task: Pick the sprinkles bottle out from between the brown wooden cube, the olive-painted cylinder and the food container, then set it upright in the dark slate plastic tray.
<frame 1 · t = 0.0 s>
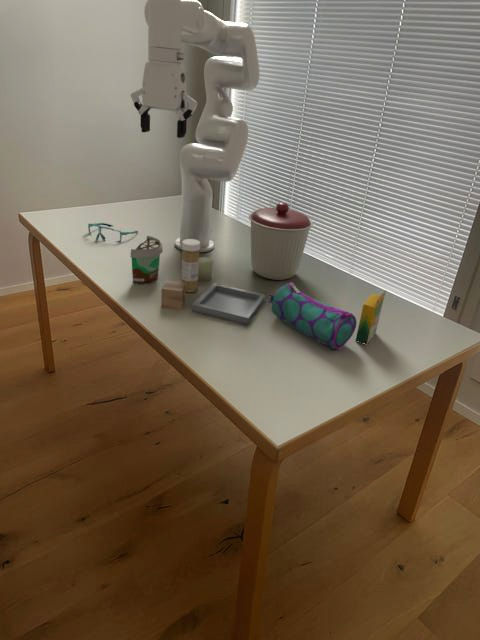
hand: (163, 134, 124), 37 cm above the table, tool pointing down, fingers open, 9 cm apart
olive cylinder: (202, 277, 141), on the table
canister: (273, 273, 148), on the table
pencil case: (308, 332, 118), on the table
sprinkles bottle: (188, 290, 133), on the table
crayon box: (365, 337, 118), on the table
brown wooden cube: (173, 304, 124), on the table
slate tray: (229, 306, 126), on the table
teal glasses: (112, 236, 164), on the table
food container: (150, 279, 136), on the table
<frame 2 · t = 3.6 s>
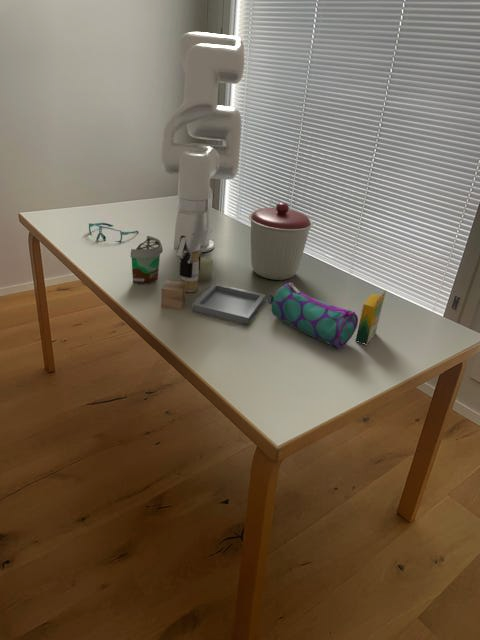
hand: (189, 272, 130), 5 cm above the table, tool pointing down, fingers closed on sprinkles bottle, 4 cm apart
sprinkles bottle: (189, 290, 133), on the table, touching gripper
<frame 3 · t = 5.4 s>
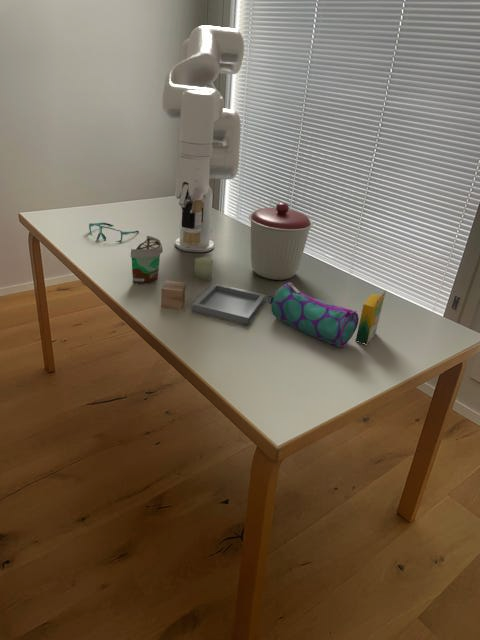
hand: (192, 224, 125), 18 cm above the table, tool pointing down, fingers closed on sprinkles bottle, 4 cm apart
sprinkles bottle: (191, 243, 127), point 13 cm above the table, touching gripper
everything else where it was.
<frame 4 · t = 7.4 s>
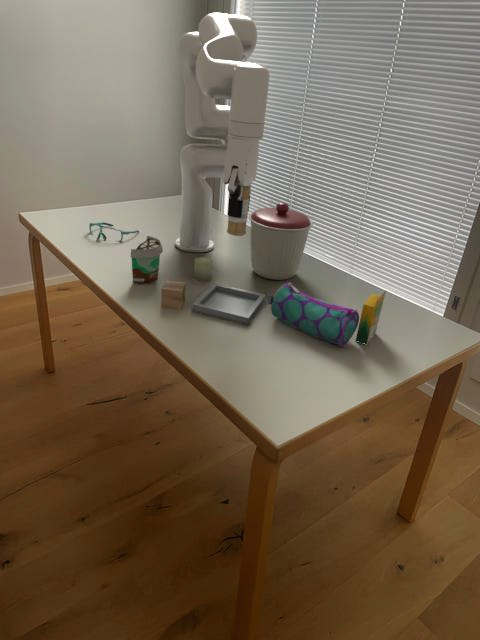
hand: (238, 213, 115), 24 cm above the table, tool pointing down, fingers closed on sprinkles bottle, 4 cm apart
sprinkles bottle: (236, 234, 117), point 19 cm above the table, touching gripper
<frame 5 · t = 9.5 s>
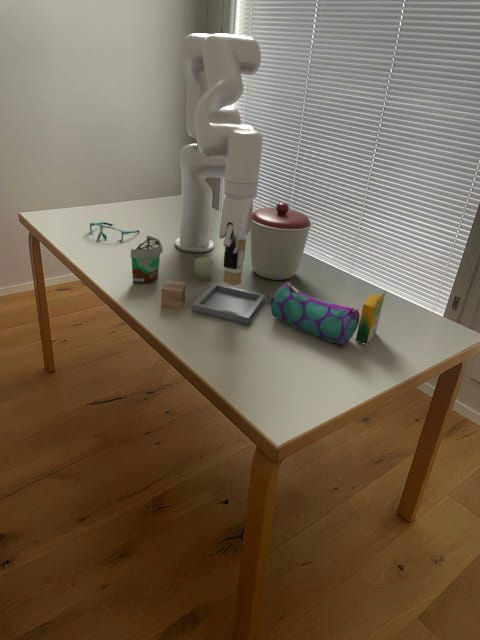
hand: (233, 263, 120), 12 cm above the table, tool pointing down, fingers closed on sprinkles bottle, 4 cm apart
sprinkles bottle: (232, 282, 123), point 7 cm above the table, touching gripper
when the fingers open (7 cm above the table, at t = 11.3 s): sprinkles bottle drops 1 cm, resting on slate tray.
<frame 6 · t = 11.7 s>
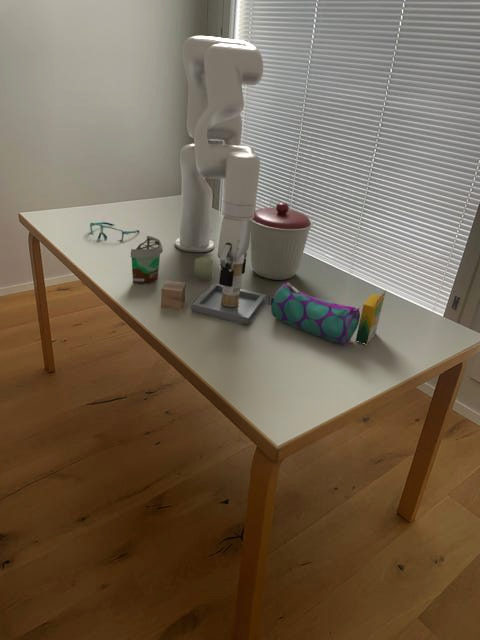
hand: (232, 278, 122), 8 cm above the table, tool pointing down, fingers open, 8 cm apart
sprinkles bottle: (229, 304, 126), resting on slate tray
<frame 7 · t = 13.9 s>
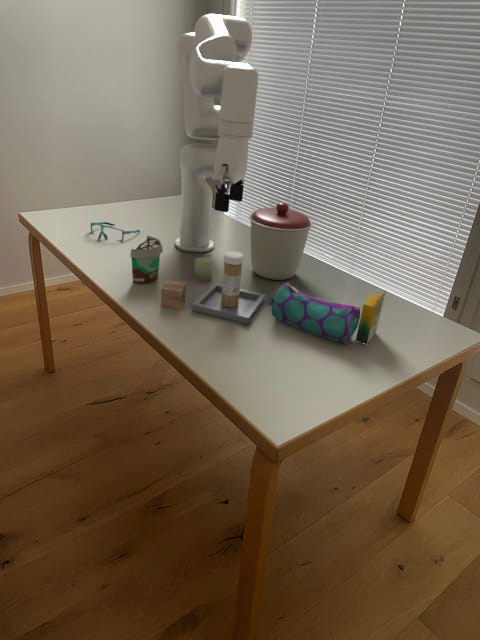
hand: (228, 205, 118), 25 cm above the table, tool pointing down, fingers open, 9 cm apart
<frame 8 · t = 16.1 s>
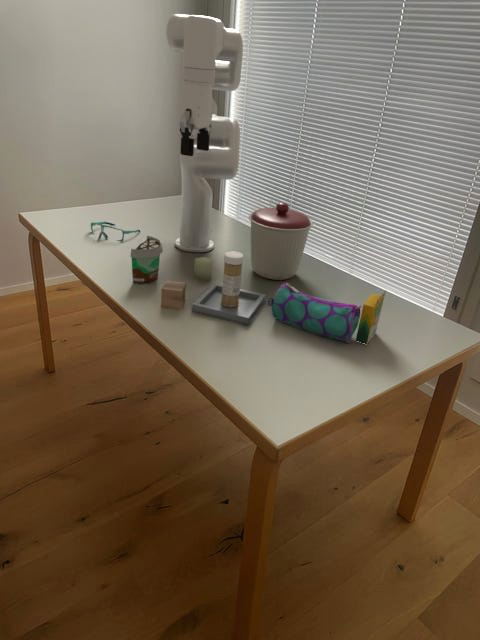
hand: (195, 152, 125), 33 cm above the table, tool pointing down, fingers open, 9 cm apart
at the end: sprinkles bottle inside the target area on the slate tray (0.1 cm from its centre), point 0.4 cm above the slate tray's base; sprinkles bottle tilted 0°; the gripper is holding nothing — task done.
